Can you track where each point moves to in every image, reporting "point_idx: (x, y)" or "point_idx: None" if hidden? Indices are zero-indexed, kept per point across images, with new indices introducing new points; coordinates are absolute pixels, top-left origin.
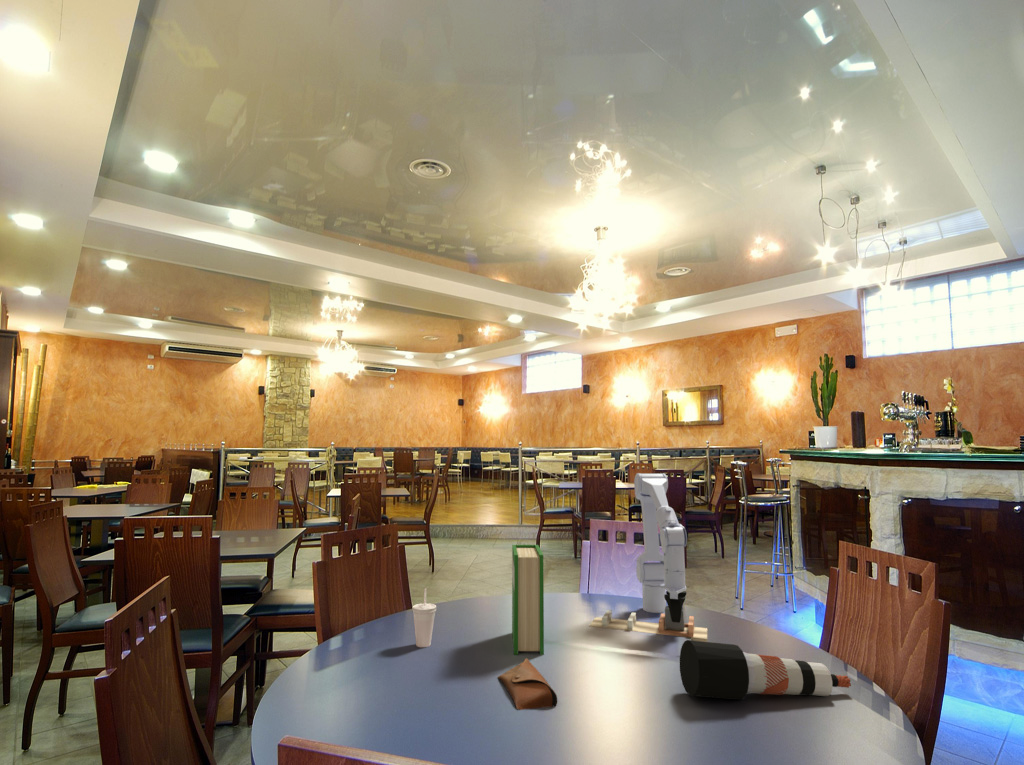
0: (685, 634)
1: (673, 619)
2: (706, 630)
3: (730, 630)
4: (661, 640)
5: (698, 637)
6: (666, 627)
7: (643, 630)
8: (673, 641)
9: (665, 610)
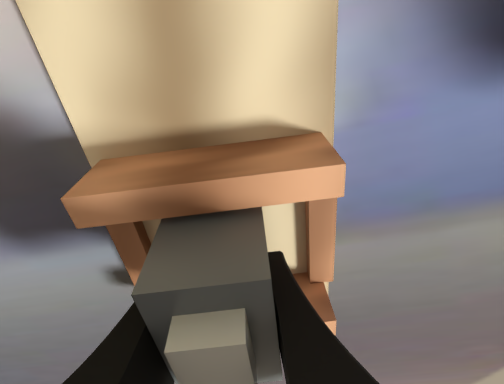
0: None
1: None
2: None
3: (373, 354)
4: (60, 174)
5: None
6: None
7: (78, 37)
8: (93, 227)
9: (135, 290)
